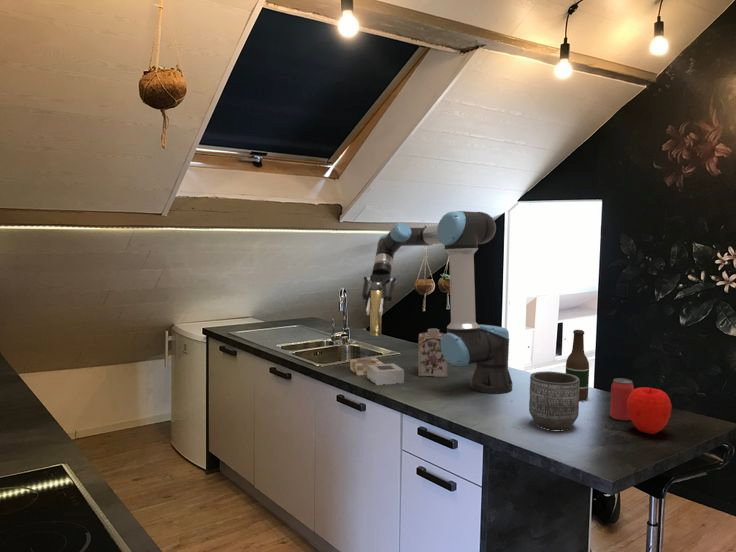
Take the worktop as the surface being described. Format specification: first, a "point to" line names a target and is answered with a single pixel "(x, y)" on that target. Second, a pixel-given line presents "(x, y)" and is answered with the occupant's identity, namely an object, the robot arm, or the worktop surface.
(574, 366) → the beer bottle
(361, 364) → the rack block
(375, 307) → the yellow glass cylinder
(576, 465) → the worktop surface
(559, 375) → the planter
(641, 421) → the apple
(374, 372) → the socket block
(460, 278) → the robot arm
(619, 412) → the beer can
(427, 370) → the decorative jar
